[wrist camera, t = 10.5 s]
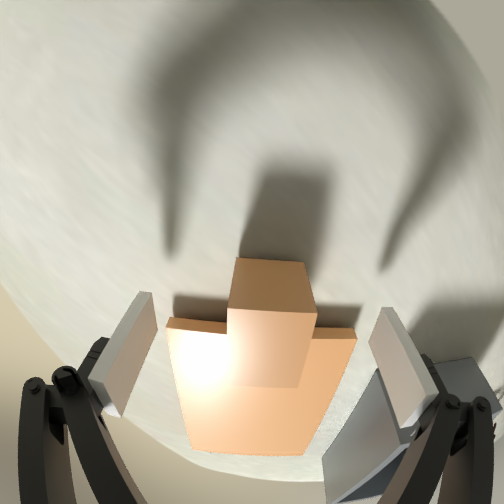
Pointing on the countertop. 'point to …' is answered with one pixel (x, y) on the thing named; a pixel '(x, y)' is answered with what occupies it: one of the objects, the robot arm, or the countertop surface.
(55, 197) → the countertop surface
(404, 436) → the tub
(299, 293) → the lid
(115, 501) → the robot arm
